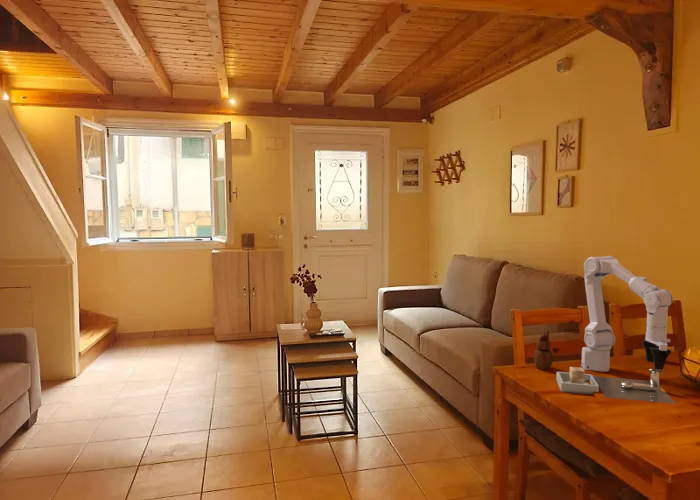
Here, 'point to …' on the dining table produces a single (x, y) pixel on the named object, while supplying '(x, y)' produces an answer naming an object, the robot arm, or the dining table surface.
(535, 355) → the wooden figurine
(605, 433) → the dining table surface
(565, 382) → the tray
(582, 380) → the block
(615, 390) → the base plate
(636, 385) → the crank
